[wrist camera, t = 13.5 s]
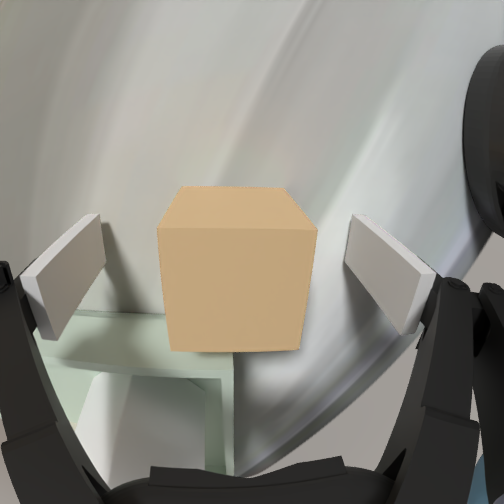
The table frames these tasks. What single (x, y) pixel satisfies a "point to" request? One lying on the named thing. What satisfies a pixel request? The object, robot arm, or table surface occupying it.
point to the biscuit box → (235, 269)
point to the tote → (141, 369)
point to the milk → (142, 425)
